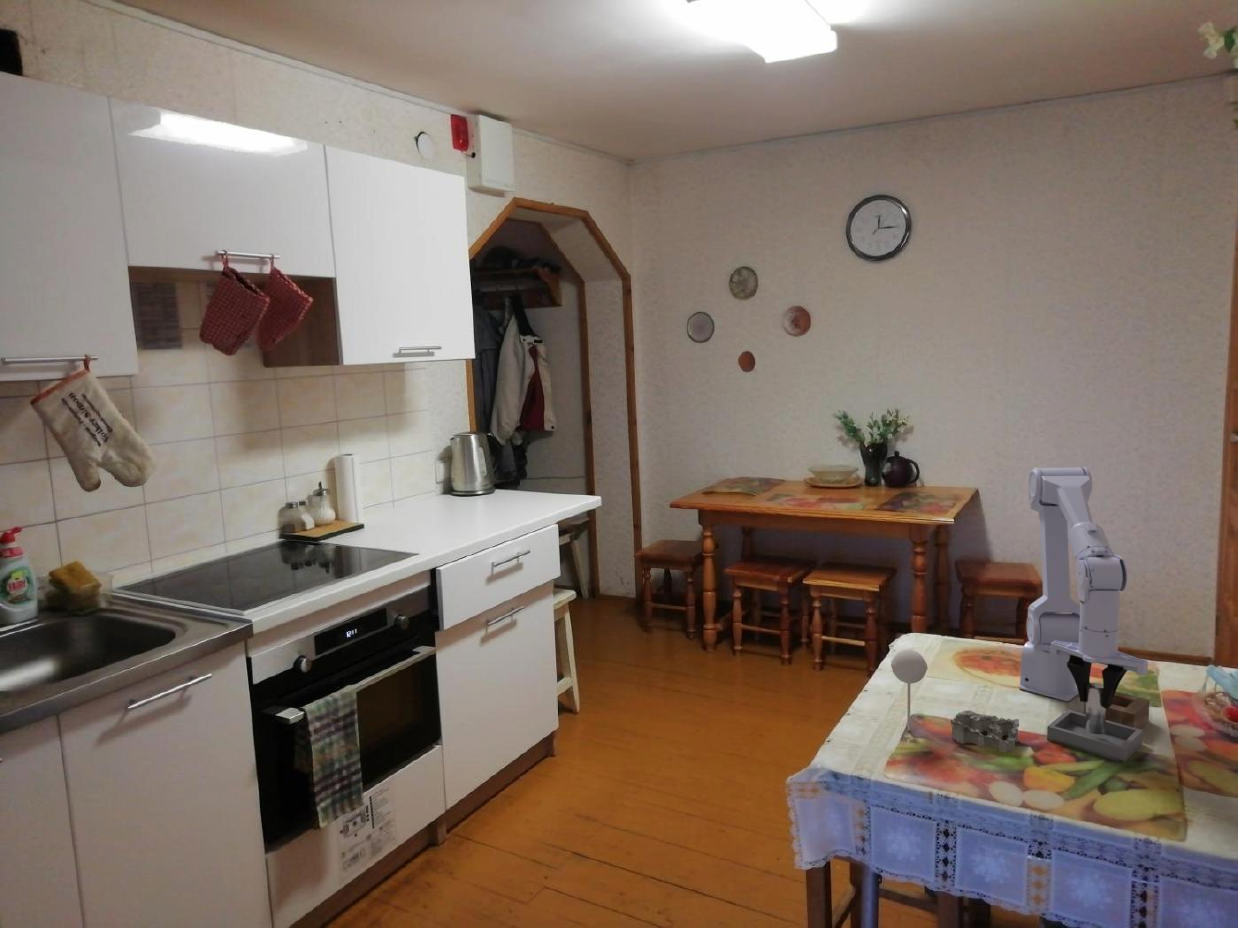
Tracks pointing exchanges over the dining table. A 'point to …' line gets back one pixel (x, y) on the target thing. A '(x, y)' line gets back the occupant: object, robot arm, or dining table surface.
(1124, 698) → the holder
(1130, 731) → the tray
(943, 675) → the dining table surface
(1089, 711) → the pin
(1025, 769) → the dining table surface
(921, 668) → the lollipop
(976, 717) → the egg carton
